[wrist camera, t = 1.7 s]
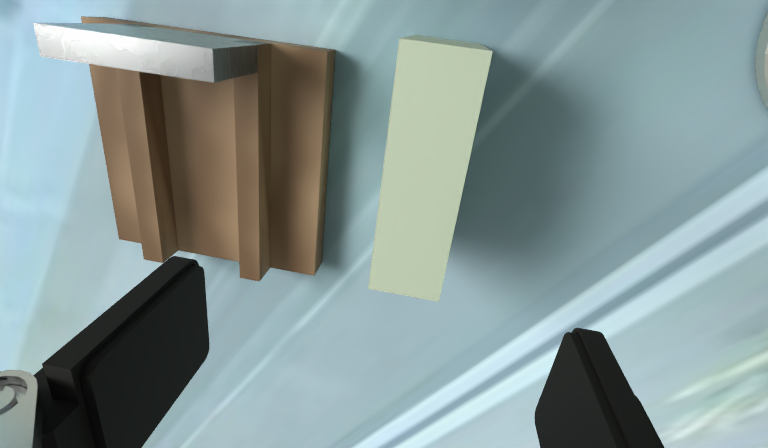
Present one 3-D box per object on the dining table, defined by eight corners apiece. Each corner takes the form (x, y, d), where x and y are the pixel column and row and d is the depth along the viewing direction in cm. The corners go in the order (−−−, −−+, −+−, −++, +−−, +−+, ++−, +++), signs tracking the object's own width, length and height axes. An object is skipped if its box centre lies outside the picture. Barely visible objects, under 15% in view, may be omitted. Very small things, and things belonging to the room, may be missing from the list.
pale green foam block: (480, 43, 26) (492, 51, 18) (442, 231, 32) (438, 301, 24) (416, 35, 26) (399, 38, 18) (389, 222, 32) (368, 288, 24)
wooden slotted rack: (335, 49, 27) (317, 53, 24) (321, 262, 34) (306, 290, 31) (104, 17, 29) (54, 15, 25) (135, 228, 36) (100, 250, 32)
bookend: (271, 43, 26) (212, 48, 20) (271, 69, 26) (214, 82, 20) (132, 23, 27) (33, 22, 20) (135, 49, 27) (40, 56, 21)
